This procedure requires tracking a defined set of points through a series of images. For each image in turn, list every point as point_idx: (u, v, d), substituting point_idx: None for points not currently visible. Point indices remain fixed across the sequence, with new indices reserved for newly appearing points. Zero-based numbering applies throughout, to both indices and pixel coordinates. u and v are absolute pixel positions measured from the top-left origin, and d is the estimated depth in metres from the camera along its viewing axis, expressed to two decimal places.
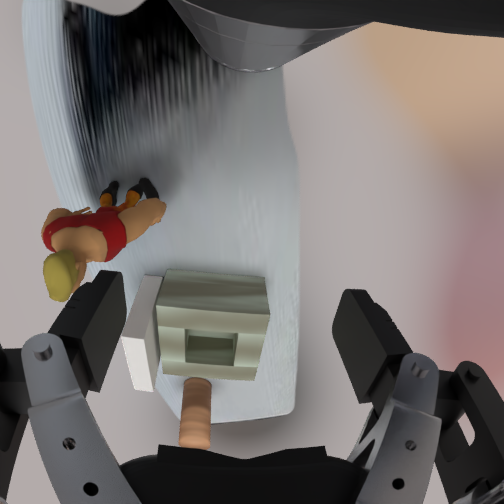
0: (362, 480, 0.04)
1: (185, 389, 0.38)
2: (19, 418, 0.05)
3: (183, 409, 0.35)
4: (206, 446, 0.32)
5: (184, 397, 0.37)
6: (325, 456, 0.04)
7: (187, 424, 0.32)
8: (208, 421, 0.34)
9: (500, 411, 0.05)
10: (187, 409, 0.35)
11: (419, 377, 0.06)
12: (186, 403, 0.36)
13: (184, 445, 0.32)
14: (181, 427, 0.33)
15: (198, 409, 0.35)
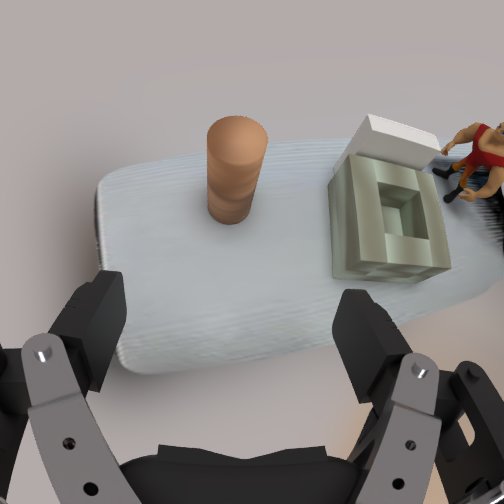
0: (362, 480, 0.04)
1: None
2: (19, 418, 0.05)
3: None
4: (237, 155, 0.18)
5: None
6: (325, 456, 0.04)
7: None
8: (246, 185, 0.21)
9: (499, 411, 0.05)
10: None
11: (419, 377, 0.06)
12: None
13: (233, 122, 0.19)
14: None
15: (257, 180, 0.23)
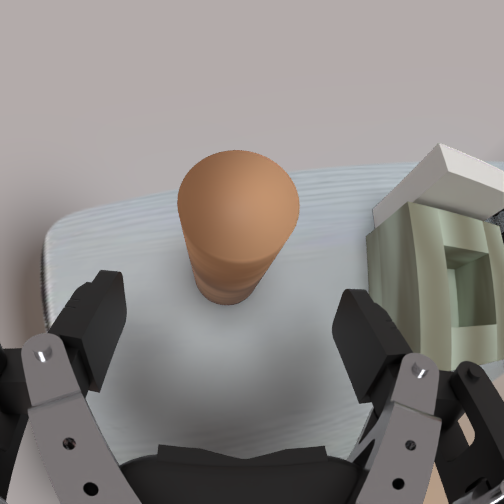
0: (362, 480, 0.04)
1: None
2: (19, 418, 0.05)
3: None
4: (240, 244, 0.09)
5: None
6: (325, 456, 0.04)
7: None
8: (254, 277, 0.12)
9: (500, 411, 0.05)
10: None
11: (419, 377, 0.06)
12: None
13: (230, 166, 0.10)
14: None
15: None
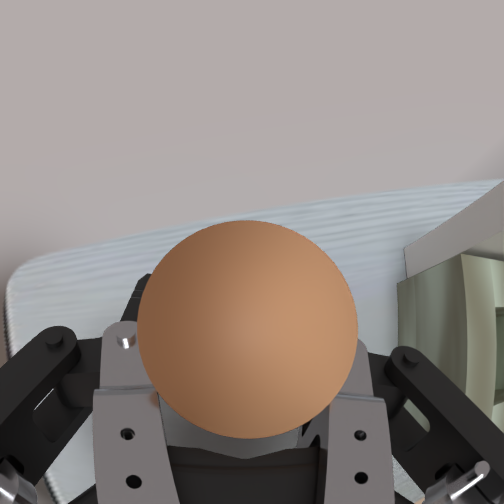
0: (362, 480, 0.04)
1: None
2: (78, 414, 0.06)
3: None
4: (257, 414, 0.05)
5: None
6: None
7: None
8: None
9: (451, 393, 0.06)
10: None
11: None
12: None
13: (232, 256, 0.05)
14: None
15: None
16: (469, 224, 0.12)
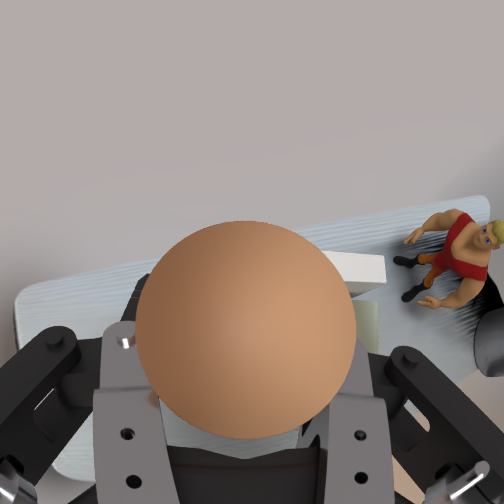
0: (362, 480, 0.04)
1: None
2: (79, 413, 0.06)
3: None
4: (256, 415, 0.05)
5: None
6: None
7: None
8: None
9: (451, 393, 0.06)
10: None
11: None
12: None
13: (230, 257, 0.05)
14: None
15: None
16: None
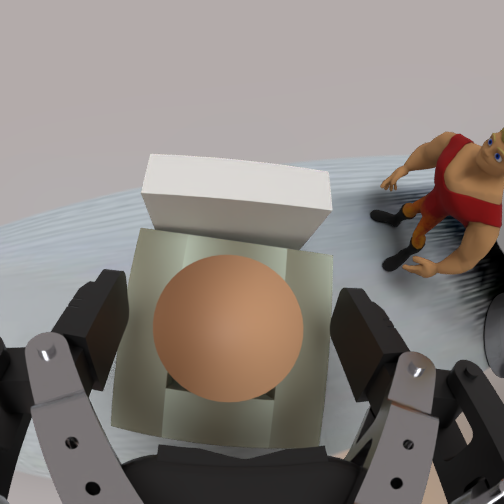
0: (362, 480, 0.04)
1: None
2: (22, 417, 0.05)
3: None
4: (231, 385, 0.07)
5: None
6: (325, 456, 0.04)
7: None
8: None
9: (498, 410, 0.05)
10: None
11: (415, 376, 0.06)
12: None
13: (216, 279, 0.08)
14: None
15: None
16: None
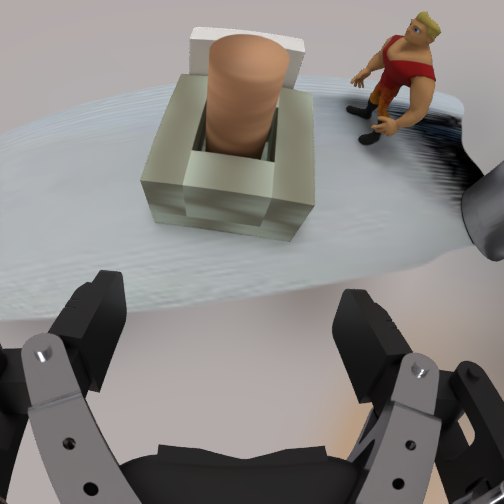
0: (362, 480, 0.04)
1: None
2: (19, 418, 0.05)
3: None
4: (251, 68, 0.12)
5: None
6: (325, 456, 0.04)
7: None
8: (259, 120, 0.15)
9: (500, 411, 0.05)
10: None
11: (419, 377, 0.06)
12: None
13: (243, 39, 0.13)
14: None
15: (271, 120, 0.17)
16: None
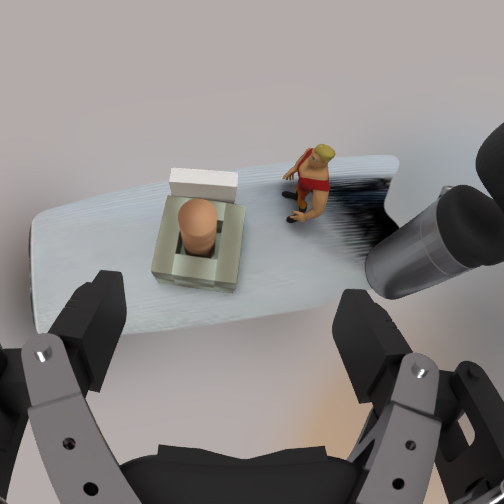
0: (362, 480, 0.04)
1: None
2: (19, 418, 0.05)
3: None
4: (197, 230, 0.29)
5: None
6: (325, 456, 0.04)
7: None
8: (206, 244, 0.32)
9: (500, 411, 0.05)
10: None
11: (419, 377, 0.06)
12: None
13: (195, 204, 0.30)
14: None
15: (215, 237, 0.34)
16: None
